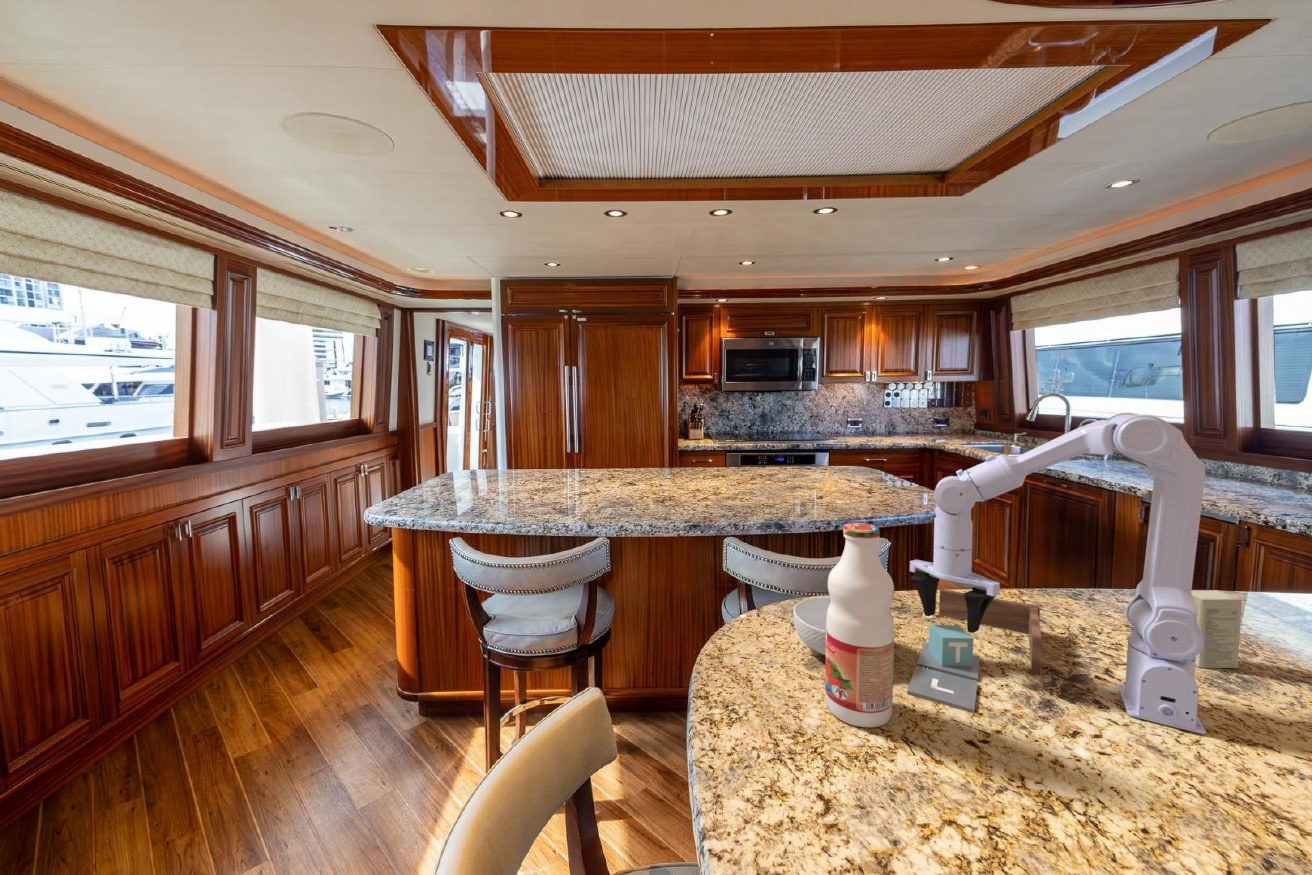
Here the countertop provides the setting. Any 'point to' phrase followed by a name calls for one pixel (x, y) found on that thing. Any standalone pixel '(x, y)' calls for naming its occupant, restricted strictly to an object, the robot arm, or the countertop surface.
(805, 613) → the cereal bowl
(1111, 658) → the countertop surface
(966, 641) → the light blue cube
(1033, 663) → the walnut screen
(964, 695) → the tile
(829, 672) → the fruit juice
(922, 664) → the tile
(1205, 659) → the skincare box
